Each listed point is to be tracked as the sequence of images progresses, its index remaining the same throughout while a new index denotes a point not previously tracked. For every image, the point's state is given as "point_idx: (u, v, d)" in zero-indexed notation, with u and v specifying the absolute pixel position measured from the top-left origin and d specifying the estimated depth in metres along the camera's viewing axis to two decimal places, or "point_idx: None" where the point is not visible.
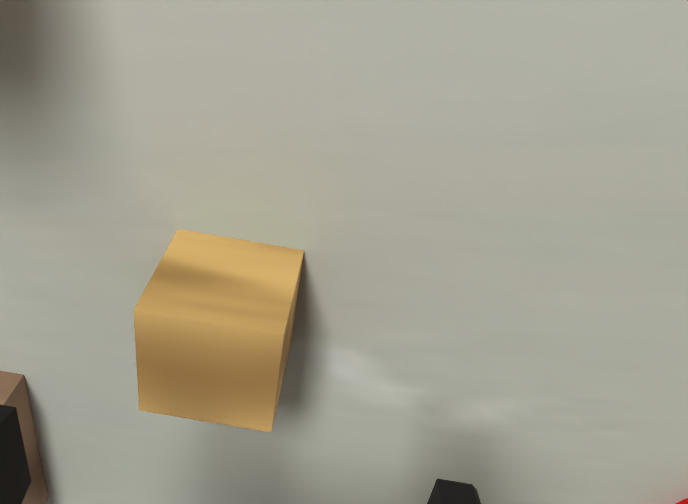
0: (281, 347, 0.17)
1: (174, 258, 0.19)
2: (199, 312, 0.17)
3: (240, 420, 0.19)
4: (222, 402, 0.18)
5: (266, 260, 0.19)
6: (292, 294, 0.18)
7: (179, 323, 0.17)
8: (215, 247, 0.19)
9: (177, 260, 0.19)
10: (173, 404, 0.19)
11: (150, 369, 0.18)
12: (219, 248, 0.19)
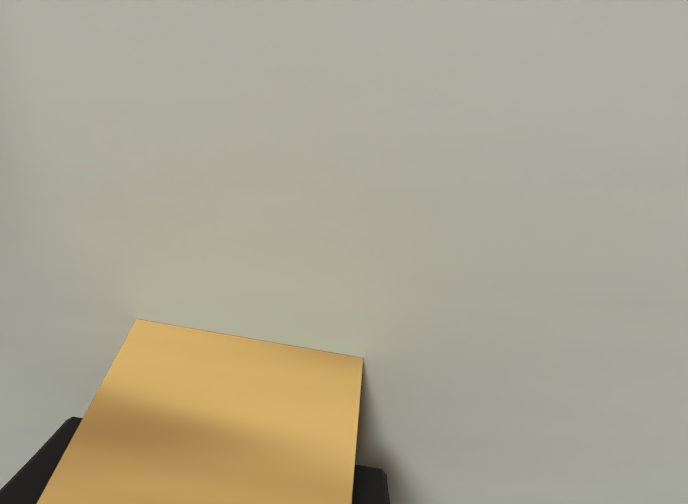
0: None
1: (123, 388, 0.10)
2: None
3: None
4: None
5: (297, 386, 0.10)
6: (352, 467, 0.09)
7: None
8: (203, 359, 0.10)
9: (128, 393, 0.10)
10: None
11: None
12: (209, 363, 0.10)
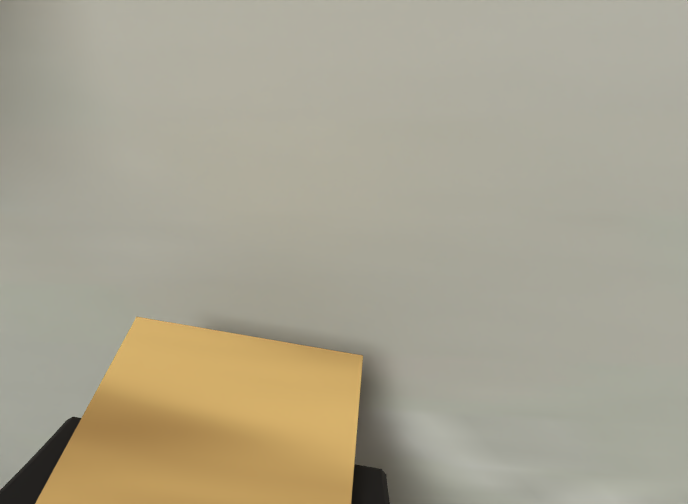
0: None
1: (122, 386, 0.10)
2: None
3: None
4: None
5: (297, 383, 0.10)
6: (352, 464, 0.09)
7: None
8: (203, 356, 0.10)
9: (128, 390, 0.10)
10: None
11: None
12: (210, 359, 0.10)
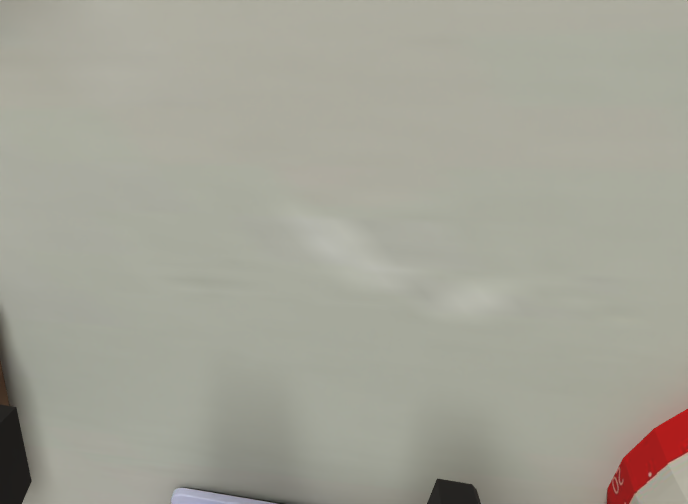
0: None
1: None
2: None
3: None
4: None
5: None
6: None
7: None
8: None
9: None
10: None
11: None
12: None
